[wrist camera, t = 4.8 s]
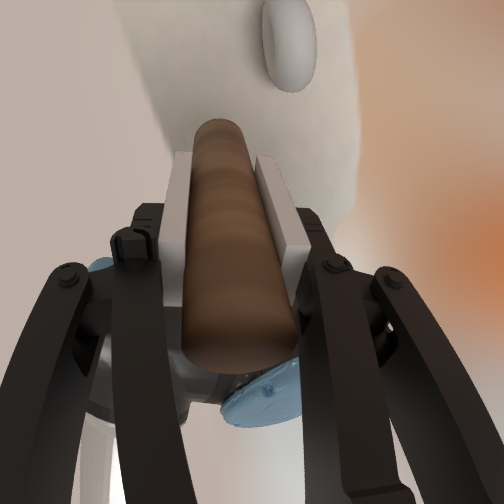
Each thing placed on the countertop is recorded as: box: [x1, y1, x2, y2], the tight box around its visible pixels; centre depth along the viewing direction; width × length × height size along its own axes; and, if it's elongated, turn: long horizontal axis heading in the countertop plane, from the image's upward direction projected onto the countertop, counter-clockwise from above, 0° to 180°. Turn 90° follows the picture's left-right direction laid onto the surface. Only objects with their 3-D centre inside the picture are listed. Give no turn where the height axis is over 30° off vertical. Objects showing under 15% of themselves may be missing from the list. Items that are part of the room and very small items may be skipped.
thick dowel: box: [181, 119, 298, 374], centre depth 13 cm, size 3×3×14 cm
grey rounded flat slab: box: [262, 0, 317, 93], centre depth 24 cm, size 10×3×10 cm, turn 5°
